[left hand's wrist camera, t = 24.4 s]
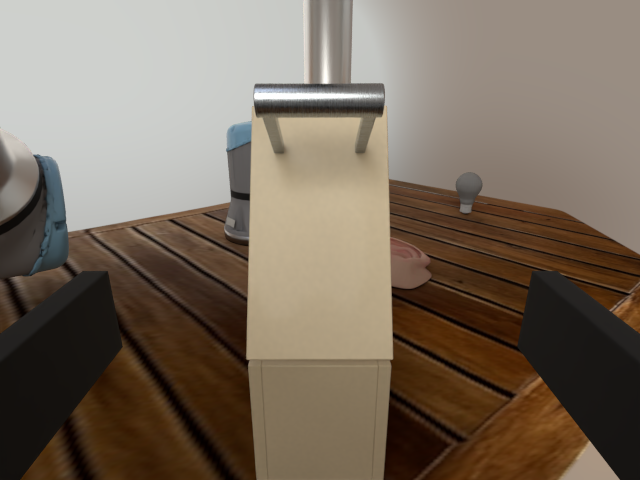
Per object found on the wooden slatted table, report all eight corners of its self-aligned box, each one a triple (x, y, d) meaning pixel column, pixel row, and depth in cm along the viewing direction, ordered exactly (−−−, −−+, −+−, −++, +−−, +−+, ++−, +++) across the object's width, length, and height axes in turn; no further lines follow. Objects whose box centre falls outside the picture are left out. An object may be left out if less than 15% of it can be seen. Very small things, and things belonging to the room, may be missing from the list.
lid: (254, 111, 30) (226, 34, 21) (384, 111, 30) (411, 34, 21) (248, 357, 27) (214, 387, 18) (390, 357, 27) (424, 387, 18)
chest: (278, 353, 46) (274, 264, 43) (361, 353, 46) (365, 264, 43) (257, 488, 31) (247, 366, 27) (382, 488, 31) (391, 365, 27)
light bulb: (456, 216, 97) (461, 174, 94) (449, 209, 103) (454, 170, 99) (481, 216, 97) (487, 175, 93) (474, 209, 102) (479, 170, 99)
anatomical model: (430, 268, 59) (353, 258, 62) (428, 292, 60) (352, 281, 64) (437, 238, 70) (372, 231, 74) (435, 260, 72) (371, 252, 75)
